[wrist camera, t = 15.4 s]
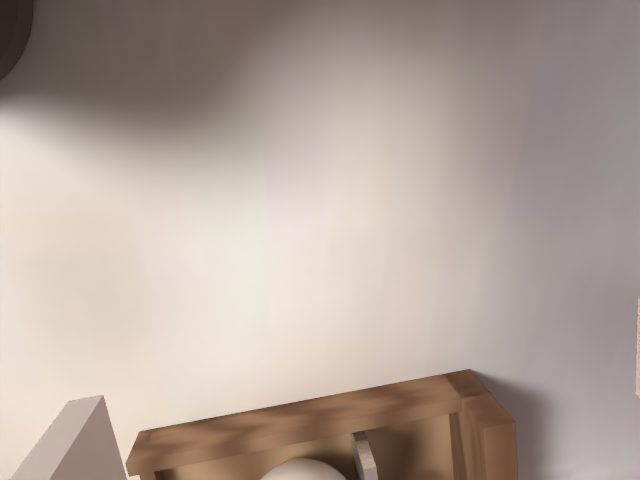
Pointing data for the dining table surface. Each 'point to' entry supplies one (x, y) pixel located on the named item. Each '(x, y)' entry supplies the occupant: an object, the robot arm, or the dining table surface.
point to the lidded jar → (303, 471)
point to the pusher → (363, 457)
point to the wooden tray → (346, 436)
